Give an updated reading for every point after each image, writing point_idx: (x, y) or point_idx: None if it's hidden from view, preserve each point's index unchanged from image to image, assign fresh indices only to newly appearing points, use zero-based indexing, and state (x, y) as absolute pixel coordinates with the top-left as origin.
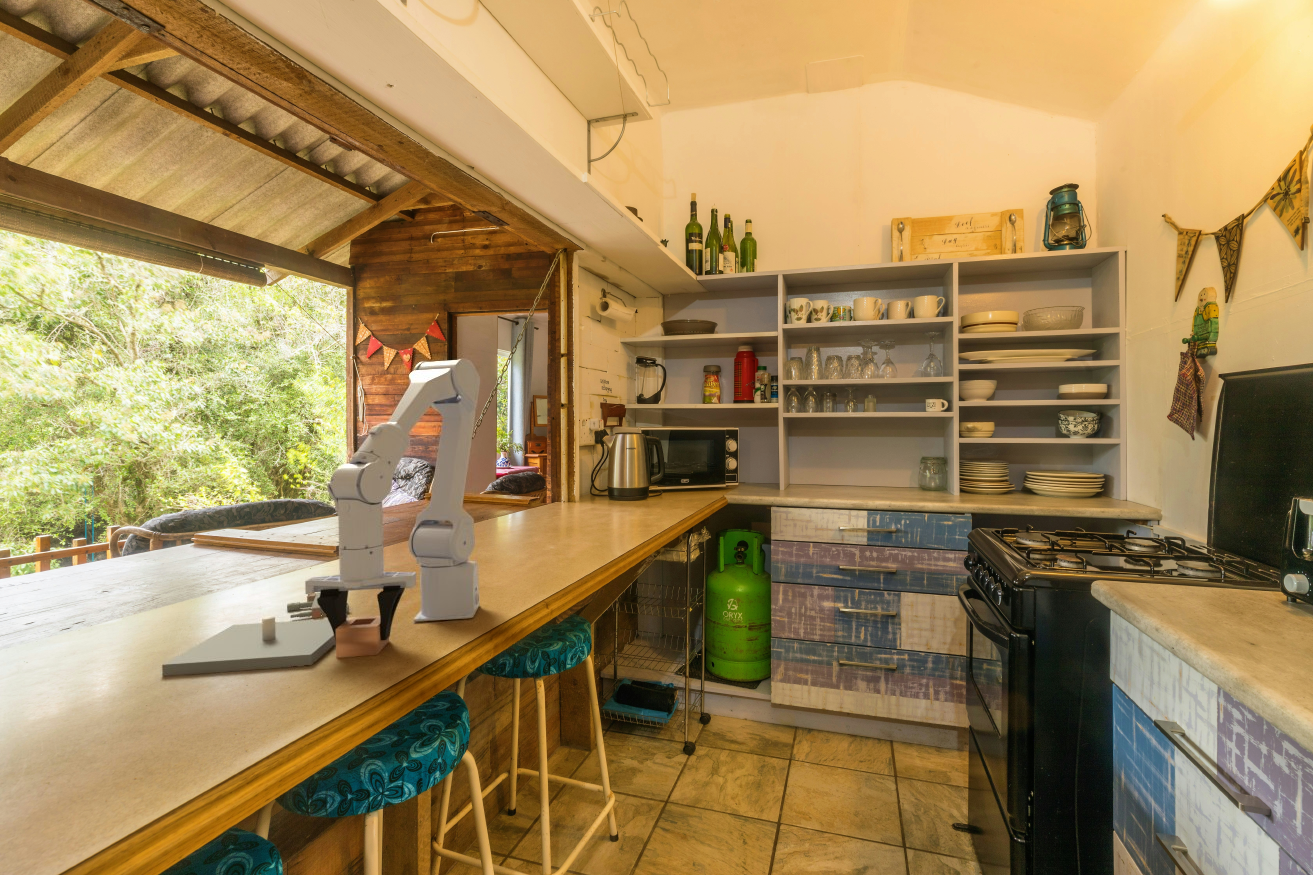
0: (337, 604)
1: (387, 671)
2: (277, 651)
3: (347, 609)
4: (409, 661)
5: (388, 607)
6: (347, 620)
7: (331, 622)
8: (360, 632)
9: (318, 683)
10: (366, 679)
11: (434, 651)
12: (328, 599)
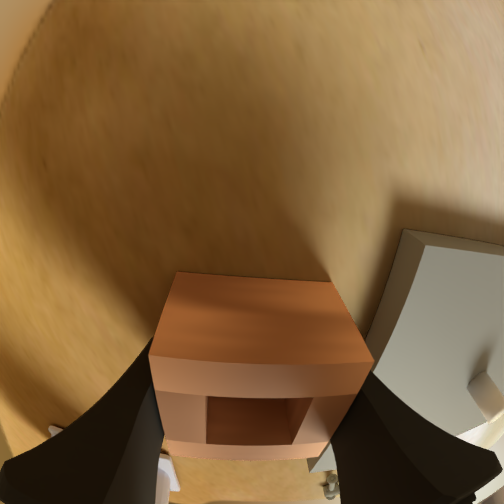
0: (397, 484)
1: (89, 79)
2: (488, 300)
3: (326, 489)
4: (41, 170)
5: (66, 441)
6: (325, 437)
7: (396, 401)
8: (242, 342)
9: (338, 27)
10: (154, 13)
11: (7, 248)
12: (470, 488)
